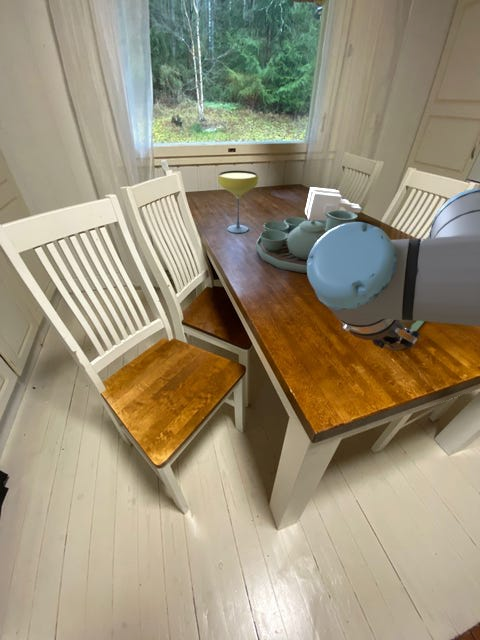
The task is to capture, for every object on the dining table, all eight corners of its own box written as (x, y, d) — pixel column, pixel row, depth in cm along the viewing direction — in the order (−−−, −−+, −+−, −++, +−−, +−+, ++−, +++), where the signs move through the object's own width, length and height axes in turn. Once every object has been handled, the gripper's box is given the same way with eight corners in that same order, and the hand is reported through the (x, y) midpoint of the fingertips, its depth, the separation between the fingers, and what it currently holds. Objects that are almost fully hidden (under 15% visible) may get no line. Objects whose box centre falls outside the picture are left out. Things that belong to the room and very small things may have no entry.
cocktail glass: (246, 221, 147) (248, 169, 132) (261, 233, 134) (265, 177, 119) (215, 225, 142) (212, 171, 126) (227, 238, 129) (226, 180, 113)
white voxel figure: (360, 230, 144) (308, 224, 143) (348, 214, 163) (301, 209, 162) (371, 200, 134) (315, 194, 134) (357, 188, 154) (307, 182, 153)
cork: (381, 347, 72) (396, 314, 65) (380, 332, 77) (394, 300, 70) (406, 352, 71) (424, 319, 64) (403, 338, 75) (420, 305, 68)
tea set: (310, 229, 138) (316, 195, 128) (370, 262, 110) (384, 221, 100) (240, 242, 125) (240, 205, 115) (288, 284, 97) (294, 239, 87)
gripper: (310, 310, 40) (342, 340, 59) (401, 357, 32) (404, 374, 52) (337, 266, 39) (361, 311, 59) (436, 303, 32) (426, 341, 51)
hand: (381, 340), depth 55 cm, fingers closed
